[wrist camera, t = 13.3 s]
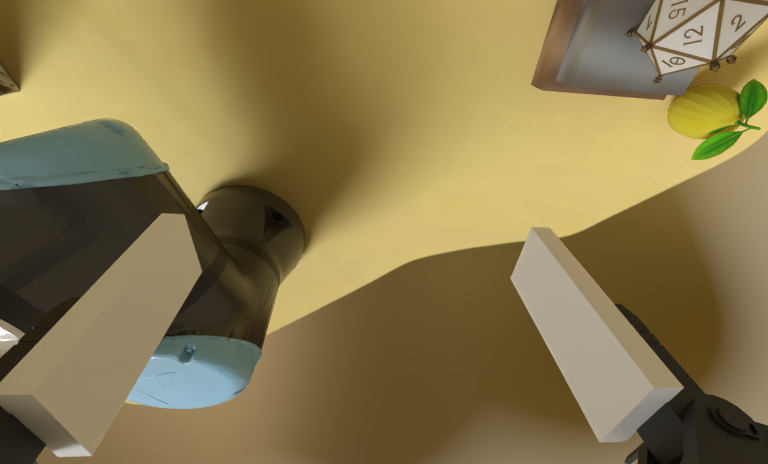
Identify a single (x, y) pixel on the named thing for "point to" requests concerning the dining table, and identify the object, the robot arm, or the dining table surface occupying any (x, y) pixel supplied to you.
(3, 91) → the coffee box
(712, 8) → the game die
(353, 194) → the dining table surface
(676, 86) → the tower base
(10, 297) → the robot arm
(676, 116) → the lemon
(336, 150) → the dining table surface
